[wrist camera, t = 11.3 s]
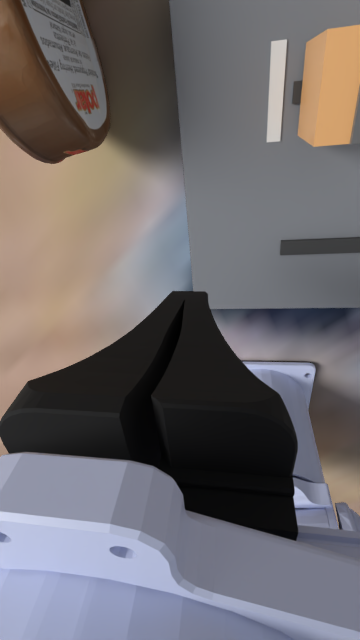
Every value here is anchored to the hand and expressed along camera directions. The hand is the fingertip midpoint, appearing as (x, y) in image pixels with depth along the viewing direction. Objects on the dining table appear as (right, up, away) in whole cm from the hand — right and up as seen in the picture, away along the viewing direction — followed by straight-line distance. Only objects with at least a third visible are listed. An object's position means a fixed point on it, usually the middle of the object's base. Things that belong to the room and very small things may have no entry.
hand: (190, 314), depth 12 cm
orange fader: (+6, +9, +1) cm, 11 cm away
